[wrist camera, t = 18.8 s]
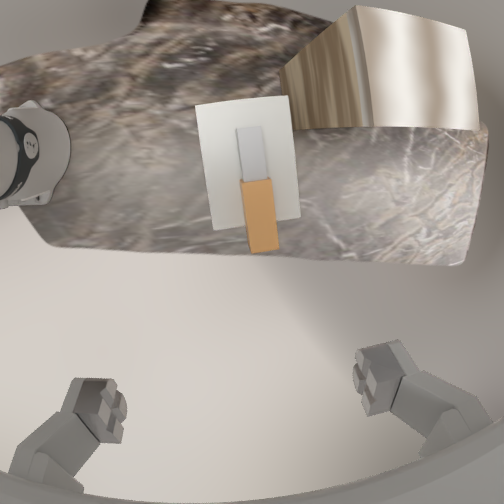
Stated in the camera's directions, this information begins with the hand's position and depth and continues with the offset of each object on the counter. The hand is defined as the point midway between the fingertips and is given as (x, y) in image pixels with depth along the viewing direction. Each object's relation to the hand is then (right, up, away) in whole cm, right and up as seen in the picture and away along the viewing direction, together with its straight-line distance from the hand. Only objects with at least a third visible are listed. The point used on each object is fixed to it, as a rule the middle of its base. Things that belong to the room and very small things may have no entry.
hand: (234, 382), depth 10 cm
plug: (+1, +11, +25) cm, 27 cm away
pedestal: (-2, +19, +38) cm, 43 cm away
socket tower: (+11, +29, +36) cm, 48 cm away
